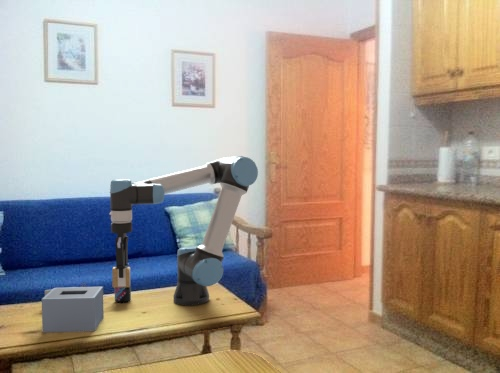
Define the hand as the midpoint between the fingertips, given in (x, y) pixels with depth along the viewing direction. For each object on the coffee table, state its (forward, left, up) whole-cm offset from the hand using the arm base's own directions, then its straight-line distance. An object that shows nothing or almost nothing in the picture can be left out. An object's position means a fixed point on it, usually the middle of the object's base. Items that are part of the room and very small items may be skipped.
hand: (122, 284), depth 174 cm
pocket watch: (+18, -19, -15) cm, 30 cm away
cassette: (+29, -21, -15) cm, 38 cm away
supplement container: (+5, -26, -15) cm, 30 cm away
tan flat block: (0, 0, -1) cm, 1 cm away
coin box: (+18, 0, -15) cm, 23 cm away
